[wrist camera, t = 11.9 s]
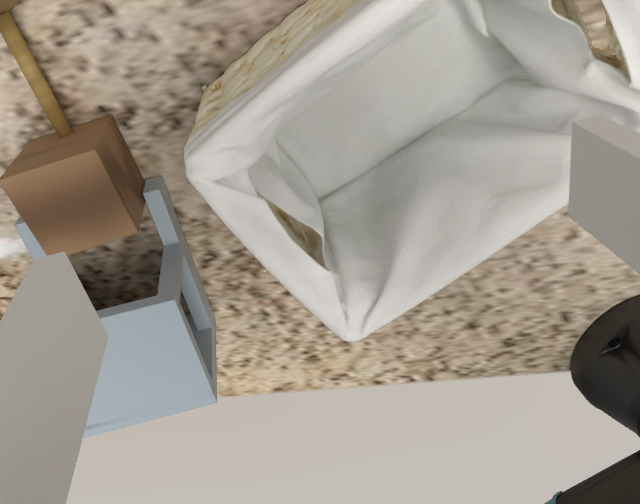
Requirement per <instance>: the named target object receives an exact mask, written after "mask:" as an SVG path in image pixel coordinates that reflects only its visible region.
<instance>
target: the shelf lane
mask: <svg viewBox="0 0 640 504" xmlns="http://www.w3.org/2000/svg"><path fill="white" fill-rule="evenodd" d="M143 195H144V198H145V200H146V203H147V205H148V208H149V210H150V213H151V215H152V218H153V220H154V223H155V225H156V228H157V230H158V233H159V235H160V238H161V240H162V243H163V245H164V248H163V256H162V264H161V271H160V279H159V286H158V294H157V296H153V297H149V298H145V299H141V300H137V301H133V302H129V303H125V304H121V305H117V306H114V307H110V308H106V309H102V310H98V311H96V312H97V314H98V316H99V318H100V320H101V322H102V324H103V326H104V328H105V330H106V332H107V334H108V335H109V337H108V341H107V344H106V348H105V352H104V356H103V360H102V364H101V368H100V372H99V376H98V380H97V383H96V387H95V391H94V395H93V399H92V403H91V407H90V411H89V415H88V419H87V422H86V426H85V430H84V434H83V438H86V437H90V436H94V435H97V434H101V433H105V432H109V431H112V430H116V429H120V428H124V427H127V426H131V425H135V424H138V423H142V422H146V421H150V420H154V419H158V418H161V417H165V416H169V415H173V414H176V413H180V412H184V411H188V410H191V409H195V408H199V407H202V406H206V405H210V404H214V403H217V374H216V324H215V317H214V315H213V312H212V309H211V307H210V304H209V301H208V299H207V296H206V293H205V291H204V288H203V285H202V283H201V280H200V277H199V274H198V272H197V269H196V266H195V264H194V261H193V258H192V256H191V253H190V250H189V248H188V245H187V242H186V240H185V237H184V234H183V232H182V229H181V226H180V223H179V221H178V218H177V215H176V213H175V210H174V207H173V205H172V202H171V199H170V197H169V194H168V191H167V189H166V186H165V183H164V181H163V178H162V176H159V177H155V178H151V179H147V180H146V182H145V186H144V190H143ZM14 226H15V227H16V229H17V231H18V233H19V234H20V236H21V238H22V240H23V242H24V243H25V245H26V247H27V249H28V251H29V252H30V254H31V256H32V258H33V260H34V259H37V258H41V257H45V256H47V255H46V254H45V252H44V250H43V249H42V247H41V246H40V244H39V243H38V241H37V240H36V238H35V237H34V235H33V234H32V232H31V230H30V229H29V227H28V226H27V224H26V223H25V221H24V220H23V218H22V217H21V215H20V217H19V218H18V220H17V222H16V223H15V225H14ZM181 290H182V293H183V295H184V298H185V300H186V303H187V305H188V308H189V310H190V313H191V315H188V316H185V314H184V311H183V309H182V306H181V304H180V296H181Z"/></svg>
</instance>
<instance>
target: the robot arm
mask: <svg viewBox="0 0 640 504" xmlns="http://www.w3.org/2000/svg"><path fill="white" fill-rule="evenodd" d="M568 216H569V217H570V218H572V219H573V220H574V221H575V222H577V223H578V224H579V225H580V226H581V227H583V228H584V229H585V230H586V231H588V232H589V233H590V234H591V235H593V236H594V237H595V238H596V239H597V240H599V241H600V242H601V243H602V244H604V245H605V246H606V247H607V248H609V249H610V250H611V251H612V252H613V253H615V254H616V255H617V256H618V257H620V258H621V259H622V260H623V261H625V262H626V263H627V264H628V265H629V266H631V267H632V268H633V269H634V270H636V271H637V272H638V273H639V274H640V134H639V133H637V132H635V131H633V130H631V129H629V128H627V127H625V126H623V125H621V124H619V123H617V122H615V121H612V120H610V119H608V118H606V117H604V116H602V115H598V116H594V117H590V118H586V119H582V120H578V121H574V122H572V139H571V162H570V185H569V207H568ZM108 337H109V335H108V334H107V332H106V330H105V328H104V326H103V324H102V322H101V320H100V318H99V316H98V314H97V312H96V311H95V309H94V307H93V305H92V303H91V301H90V299H89V297H88V295H87V293H86V291H85V290H84V288H83V286H82V284H81V282H80V280H79V278H78V276H77V274H76V272H75V270H74V268H73V267H72V265H71V263H70V261H69V259H68V257H67V255H66V253H65V251H64V252H60V253H56V254H52V255H49V256H45V257H41V258H37V259H34V260H33V262H32V264H31V265H30V267H29V269H28V271H27V273H26V275H25V277H24V278H23V280H22V282H21V284H20V286H19V288H18V289H17V291H16V293H15V295H14V297H13V299H12V301H11V302H10V304H9V306H8V308H7V310H6V312H5V313H4V315H3V317H2V319H1V321H0V504H66V501H67V497H68V493H69V488H70V485H71V481H72V477H73V473H74V469H75V465H76V462H77V458H78V454H79V450H80V446H81V442H82V438H83V434H84V430H85V426H86V422H87V419H88V415H89V411H90V407H91V403H92V399H93V395H94V391H95V387H96V383H97V380H98V376H99V372H100V368H101V364H102V360H103V356H104V352H105V348H106V344H107V341H108ZM571 375H572V379H573V382H574V384H575V385H576V387H577V388H578V389H579V390H580V392H581V393H582V394H583V395H584V397H585V398H586V399H587V400H588V401H589V402H590V403H591V404H592V405H593V406H595V407H596V408H598V409H600V410H602V411H603V412H605V413H606V414H608V415H609V416H611V417H612V418H613V419H615V420H616V421H618V422H620V423H621V424H622V425H624V426H625V427H627V428H629V429H630V430H632V431H633V432H635V433H636V434H637V435H638V436H639V437H640V296H637V297H635V298H632V299H630V300H628V301H626V302H624V303H622V304H620V305H618V306H616V307H615V308H613V309H612V310H610V311H609V312H607V313H606V314H605V315H603V316H602V317H601V318H600V319H599V320H598V321H596V322H595V323H594V324H593V325H592V326H591V328H590V329H589V330H588V331H587V332H586V333H585V335H584V336H583V337H582V339H581V340H580V342H579V344H578V346H577V348H576V350H575V352H574V355H573V358H572V362H571ZM545 504H640V450H639V451H637V452H636V453H633V454H632V455H630V456H628V457H626V458H624V459H622V460H621V461H619V462H617V463H615V464H613V465H612V466H610V467H608V468H606V469H604V470H602V471H601V472H599V473H597V474H595V475H593V476H592V477H590V478H588V479H586V480H584V481H583V482H581V483H579V484H577V485H575V486H573V487H572V488H570V489H568V490H566V491H564V492H562V491H560V492H558V493H557V494H555V495H554V496H553V498H552V499H551V500H549V501H548V502H546V503H545Z"/></svg>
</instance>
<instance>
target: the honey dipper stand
mask: <svg viewBox="0 0 640 504" xmlns="http://www.w3.org/2000/svg"><path fill="white" fill-rule="evenodd" d="M19 1H20V0H0V32H1V34H2V36H3V37H4V39H5V41H6V43H7V45H8V46H9V48H10V50H11V52H12V54H13V55H14V57H15V59H16V61H17V63H18V64H19V66H20V68H21V70H22V72H23V73H24V75H25V77H26V79H27V81H28V82H29V84H30V86H31V88H32V90H33V91H34V93H35V95H36V97H37V99H38V100H39V102H40V104H41V106H42V108H43V109H44V111H45V113H46V115H47V117H48V118H49V120H50V122H51V124H52V126H53V127H54V129H55V131H56V132H55V133H52V134H49V135H46V136H42V137H39V138H36V139H33V140H30V141H29V142H28V144H27V145H26V146H25V147H24V149H23V150H22V151H21V152H20V154H19V155H18V156H17V157H16V159H15V160H14V161H13V162H12V164H11V165H10V166H9V167H8V169H7V170H6V171H5V173H4V174H3V175H2V176H1V178H0V184H1V186H2V187H3V189H4V190H5V192H6V193H7V195H8V197H9V198H10V200H11V201H12V203H13V204H14V206H15V207H16V209H17V210H18V212H19V214H20V215H21V217H22V218H23V220H24V221H25V223H26V224H27V226H28V227H29V229H30V230H31V232H32V234H33V235H34V237H35V238H36V240H37V241H38V243H39V244H40V246H41V247H42V249H43V250H44V252H45V254H46V255H47V256H49V255H52V254H56V253H60V252H64V251H65V253H66V255H67V256H68V255H71V254H74V253H77V252H80V251H83V250H86V249H89V248H92V247H95V246H99V245H102V244H105V243H108V242H111V241H114V240H117V239H120V238H123V237H126V236H129V235H133V234H136V233H138V232H139V227H140V223H141V218H142V213H143V209H144V204H145V198H144V195H143V190H144V186H145V181H144V179H143V177H142V175H141V173H140V171H139V169H138V167H137V165H136V163H135V161H134V159H133V157H132V155H131V153H130V151H129V149H128V147H127V145H126V142H125V140H124V138H123V136H122V134H121V132H120V130H119V128H118V126H117V124H116V122H115V120H114V118H113V116H112V114H111V115H108V116H105V117H102V118H98V119H95V120H92V121H89V122H86V123H83V124H80V125H77V126H74V127H71V126H70V124H69V122H68V121H67V119H66V117H65V115H64V113H63V111H62V109H61V108H60V106H59V104H58V102H57V100H56V98H55V96H54V95H53V93H52V91H51V89H50V87H49V85H48V83H47V82H46V80H45V78H44V76H43V74H42V72H41V70H40V69H39V67H38V65H37V63H36V61H35V59H34V57H33V55H32V54H31V52H30V50H29V48H28V46H27V44H26V42H25V41H24V39H23V37H22V35H21V33H20V31H19V29H18V28H17V26H16V24H15V22H14V20H13V18H12V16H11V15H10V13H9V11H8V10H10V9H12V8H13V7H15V6H16V5H17V4H18V2H19Z"/></svg>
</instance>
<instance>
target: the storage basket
mask: <svg viewBox="0 0 640 504" xmlns="http://www.w3.org/2000/svg"><path fill="white" fill-rule="evenodd" d="M601 2H602V3H603V7H604V11H605V13H606V24H605V26H606V28H607V30H608V35H609V41H610V43H609V47H610V48H611V49H613V50H614V51H615V53H616V55H612V54H611V53H610V52H609V51H607V50H602V49H598V48H594V47H593V46H592V44H591V41H590V39H589V37H588V35H587V31H586V29H585V26H584V22H583V20H582V18H581V17H580V14H579V10H578V7H577V4H576V1H575V0H308V1H307V2H306V3H305V4H304V5H302V6H300V7H299V8H297V9H296V10H294V11H293V12H292V13H291V14H289V15H288V16H287V17H286V18H285V19H284V20H283V21H282V23H281V24H280V25H279V26H278V27H276V28H275V29H273V30H272V31H270V32H268V33H267V34H265V35H264V36H263V37H262V38H261V39H260V40H259V41H258V42H256V43H255V44H254V45H253V46H252V47H251V49H250V50H249V51H248V52H247V53H246V54H244V55H243V57H241V58H240V59H238V60H236V61H234V62H233V63H232V64H231V65H230V66H229V67H228V68H227V69H226V71H225V73H224V74H223V75H222V76H221V77H219V78H218V79H217V80H215V81H214V82H213V83H212V84H210V85H209V86H208V87H206V85H205V86H202V90H203V92H204V94H203V96H202V98H201V103H200V105H199V108H198V113H197V115H196V119H195V126H194V127H193V129H192V131H191V133H190V134H189V136H188V139H187V143H186V144H185V147H184V163H185V168H186V177H187V178H188V180H189V182H190V183H191V184H192V185H193V186H194V187H195V189H196V190H197V191H198V192H199V193H200V195H201V196H202V197H203V198H204V199H205V200H206V202H207V203H208V204H209V205H210V207H211V208H212V209H213V211H214V212H215V213H216V214H217V216H218V217H219V218H220V219H221V220H222V221H223V222H224V224H225V225H226V226H227V227H228V228H229V229H230V230H231V231H232V232H233V234H234V235H235V236H236V237H237V238H238V239H239V240H240V241H241V242H242V244H243V245H244V246H245V247H246V248H247V249H248V250H249V251H250V252H251V253H252V254H253V255H254V256H255V257H256V258H257V259H258V260H259V261H260V263H261V264H262V265H263V266H264V267H265V268H266V269H267V270H268V271H269V272H270V273H271V274H272V275H273V276H274V277H275V278H276V279H277V280H278V281H279V282H280V283H281V284H282V285H283V286H284V287H285V288H286V289H287V290H288V291H289V292H290V293H291V294H292V295H293V296H294V297H295V298H296V299H297V300H298V301H299V302H300V303H301V304H302V305H303V306H304V307H306V308H307V309H308V310H309V311H310V312H311V313H312V314H314V315H315V316H316V317H317V318H318V319H319V320H320V321H322V322H323V323H324V324H325V325H326V326H327V327H328V328H329V329H330V330H332V331H333V332H334V333H335V334H336V335H337V336H339V338H340V339H342V340H344V341H348V342H354V341H358V340H362V339H363V338H365V337H366V336H368V335H369V334H371V333H372V332H374V331H376V330H377V329H379V328H381V327H382V326H384V325H385V324H387V323H389V322H390V321H392V320H393V319H395V318H397V317H398V316H400V315H402V314H403V313H405V312H406V311H408V310H410V309H411V308H413V307H415V306H416V305H418V304H420V303H421V302H423V301H424V300H426V299H427V298H429V297H430V296H432V295H433V294H435V293H436V292H438V291H439V290H441V289H442V288H444V287H445V286H447V285H448V284H450V283H451V282H453V281H454V280H456V279H457V278H459V277H460V276H462V275H463V274H465V273H466V272H468V271H469V270H471V269H472V268H474V267H475V266H477V265H478V264H480V263H481V262H483V261H484V260H486V259H487V258H489V257H490V256H491V255H493V254H494V253H496V252H497V251H499V250H500V249H502V248H503V247H505V246H506V245H508V244H509V243H511V242H512V241H513V240H515V239H516V238H518V237H519V236H521V235H522V234H524V233H525V232H527V231H528V230H530V229H531V228H533V227H534V226H535V225H537V224H538V223H540V222H541V221H543V220H544V219H546V218H547V217H549V216H550V215H552V214H553V213H555V212H557V211H558V210H560V209H561V208H563V207H564V206H566V205H567V204H569V185H570V162H571V139H572V122H574V121H578V120H582V119H586V118H590V117H594V116H598V115H602V116H604V117H606V118H608V119H610V120H612V121H615V122H617V123H619V124H621V125H623V126H625V127H627V128H629V129H631V130H633V131H635V132H637V133H639V134H640V0H601Z"/></svg>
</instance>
